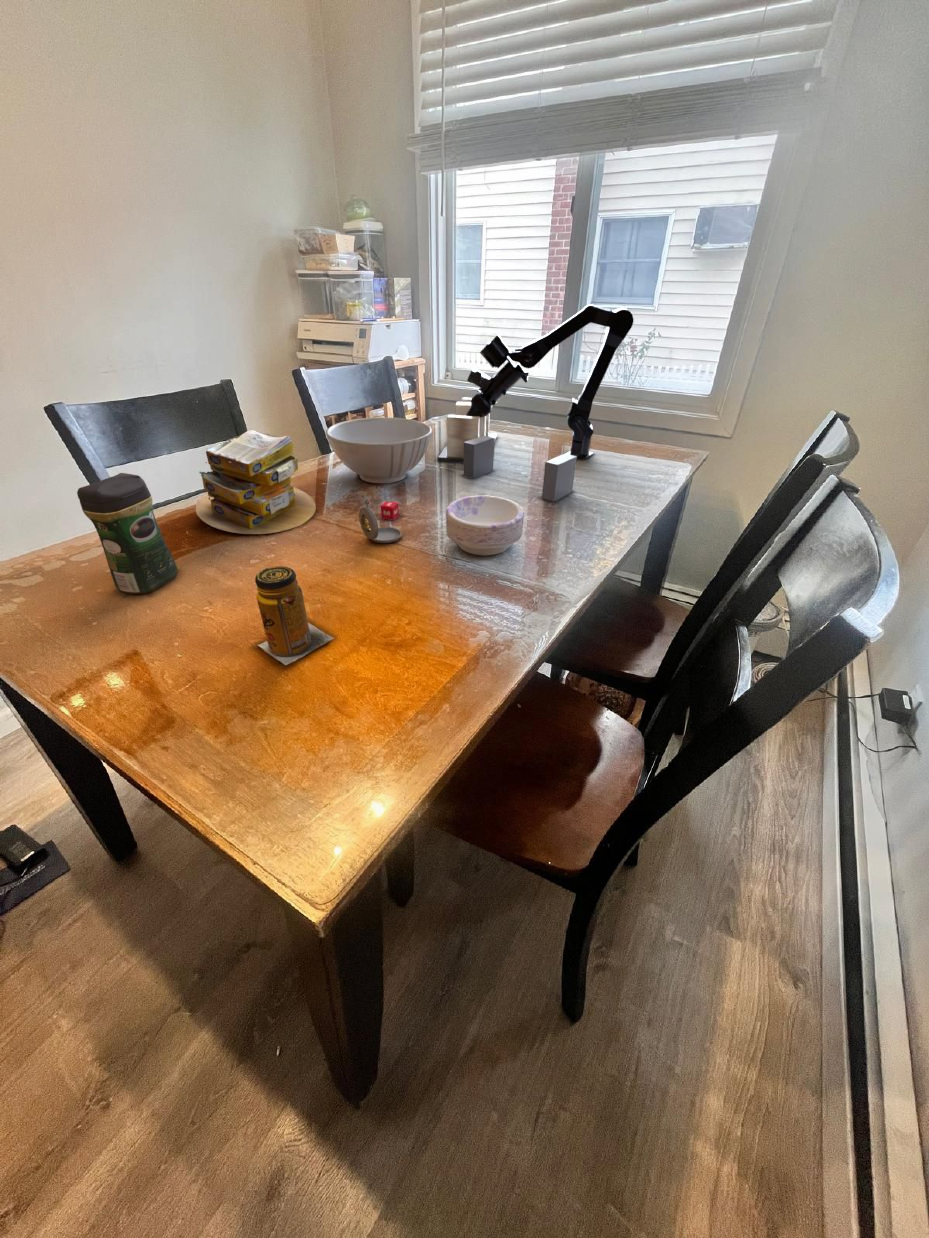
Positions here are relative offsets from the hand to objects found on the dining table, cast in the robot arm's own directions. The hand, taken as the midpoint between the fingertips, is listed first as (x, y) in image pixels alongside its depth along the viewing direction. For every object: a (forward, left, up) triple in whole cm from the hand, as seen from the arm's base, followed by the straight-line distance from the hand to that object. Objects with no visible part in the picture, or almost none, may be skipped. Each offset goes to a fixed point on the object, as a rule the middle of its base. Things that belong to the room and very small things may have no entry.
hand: (465, 418), depth 157 cm
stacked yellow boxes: (+71, -8, -9) cm, 72 cm away
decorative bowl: (+35, -3, -9) cm, 36 cm away
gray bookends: (+19, +29, -9) cm, 36 cm away
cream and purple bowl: (+55, +42, -9) cm, 70 cm away
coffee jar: (+102, +2, -9) cm, 102 cm away
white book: (-1, +1, -7) cm, 8 cm away
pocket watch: (+65, +23, -9) cm, 70 cm away
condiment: (+99, +37, -9) cm, 106 cm away
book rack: (-1, +1, -9) cm, 9 cm away
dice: (+55, +17, -9) cm, 58 cm away
